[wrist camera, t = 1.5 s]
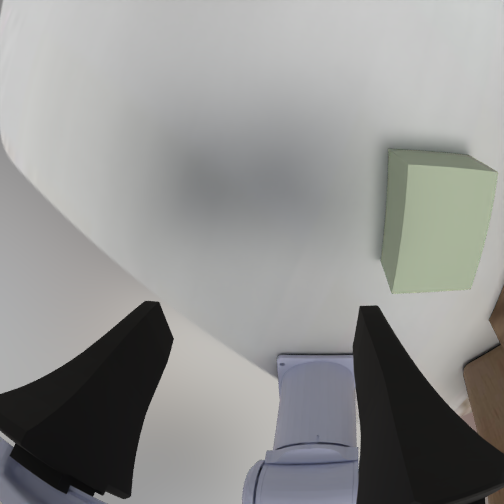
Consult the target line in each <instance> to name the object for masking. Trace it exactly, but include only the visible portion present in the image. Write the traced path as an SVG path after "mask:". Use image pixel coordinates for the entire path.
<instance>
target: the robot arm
mask: <svg viewBox="0 0 504 504" xmlns="http://www.w3.org/2000/svg"><path fill="white" fill-rule="evenodd" d="M173 340H174V338H173V336H172V333H171V331H170V329H169V326H168V323H167V321H166V319H165V316H164V314H163V311H162V308H161V306H160V303H159V302H154V301H145V302H143V303H142V304H141V305H139V306H138V307H137V308H136V309H135V310H133V311H132V312H131V313H130V314H129V315H128V316H126V317H125V318H124V319H123V320H122V321H120V322H119V323H118V324H117V325H116V326H115V327H113V328H112V329H111V330H110V331H109V332H108V333H106V334H105V335H104V336H103V337H101V338H100V339H99V340H98V341H96V342H95V343H94V344H93V345H91V346H90V347H89V348H88V349H86V350H85V351H84V352H83V353H81V354H80V355H78V356H77V357H75V358H74V359H73V360H71V361H69V362H68V363H66V364H65V365H63V366H62V367H60V368H58V369H57V370H55V371H53V372H51V373H49V374H48V375H46V376H44V377H42V378H40V379H38V380H36V381H34V382H32V383H30V384H27V385H25V386H22V387H20V388H18V389H14V390H11V391H8V392H5V393H2V394H0V431H1V432H2V433H4V434H5V435H6V436H7V437H9V438H10V439H11V440H13V441H14V442H15V443H16V444H15V446H14V447H13V446H11V445H10V444H9V443H7V442H6V441H5V440H4V439H2V438H1V437H0V501H1V502H2V504H107V503H105V502H103V501H101V500H98V499H96V498H94V497H93V495H94V493H95V492H96V493H98V494H100V495H104V493H105V491H106V492H108V493H110V494H112V495H115V496H117V497H120V498H122V499H126V498H129V497H130V496H131V489H132V478H133V469H134V462H135V456H136V451H137V447H138V442H139V438H140V433H141V430H142V426H143V422H144V419H145V415H146V412H147V410H148V406H149V404H150V402H151V400H152V397H153V395H154V393H155V390H156V388H157V385H158V383H159V381H160V378H161V376H162V374H163V371H164V369H165V367H166V364H167V362H168V358H169V355H170V351H171V347H172V343H173ZM277 369H278V382H279V394H280V404H279V411H278V419H277V426H276V433H275V439H274V447H273V450H270V451H269V450H268V451H267V452H266V457H265V460H259V461H258V462H256V464H255V465H254V466H252V467H251V469H250V470H249V472H248V474H247V476H246V479H245V483H244V487H243V495H242V504H485V497H487V496H489V495H491V494H493V493H495V492H497V491H498V490H500V489H502V488H504V453H502V452H501V451H499V450H498V449H497V448H495V447H494V446H493V445H491V444H490V443H489V442H487V441H486V440H485V439H483V438H482V437H481V436H480V435H479V434H478V433H476V432H475V431H474V430H473V429H472V428H471V427H469V425H468V424H467V423H466V422H465V421H464V420H462V419H461V418H460V417H459V416H458V415H457V414H456V413H455V412H454V411H453V410H452V409H451V408H450V407H449V405H448V404H447V403H446V402H445V401H444V400H443V399H442V398H441V397H440V395H439V394H438V393H437V392H436V391H435V389H434V388H433V387H432V386H431V385H430V383H429V382H428V381H427V380H426V378H425V377H424V376H423V374H422V373H421V372H420V370H419V369H418V367H417V366H416V365H415V363H414V362H413V360H412V359H411V358H410V356H409V355H408V353H407V352H406V350H405V349H404V347H403V346H402V344H401V343H400V341H399V340H398V338H397V336H396V335H395V333H394V332H393V330H392V328H391V327H390V325H389V323H388V322H387V320H386V318H385V317H384V315H383V313H382V311H381V310H380V308H379V307H378V306H360V308H359V315H358V320H357V326H356V332H355V337H354V342H353V355H280V356H278V357H277ZM355 388H356V393H357V401H358V409H359V418H360V430H361V449H360V450H361V451H360V461H359V471H358V447H357V442H356V441H357V439H356V408H355Z"/></svg>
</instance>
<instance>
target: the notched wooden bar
mask: <svg viewBox="0 0 504 504" xmlns="http://www.w3.org/2000/svg"><path fill="white" fill-rule="evenodd" d="M489 321H490V323H491V325H492V327H493V329H494V331H495V333H496V335H497V337H498V339H499V341H500V343H501V346H502V348H503V350H504V286H503V289H502V291H501V294H500V296H499V299H498V301H497V303H496V306H495V308H494V310H493V313H492V315H491V317H490V319H489Z"/></svg>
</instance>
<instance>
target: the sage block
mask: <svg viewBox="0 0 504 504" xmlns="http://www.w3.org/2000/svg"><path fill="white" fill-rule="evenodd" d="M497 176H498V172H497V171H495V170H493V169H492V168H490V167H488V166H487V165H485V164H483V163H482V162H480V161H478V160H476V159H475V158H473V157H471V156H469V155H464V154H454V153H444V152H433V151H420V150H403V149H388V183H387V201H386V214H385V226H384V236H383V245H382V254H381V263H382V266H383V269H384V272H385V275H386V278H387V281H388V284H389V287H390V290H391V293H392V294H400V293H421V292H439V291H454V290H468V289H471V286H472V283H473V280H474V277H475V274H476V271H477V268H478V265H479V261H480V258H481V254H482V250H483V247H484V243H485V239H486V235H487V231H488V226H489V222H490V217H491V212H492V207H493V202H494V196H495V190H496V183H497Z"/></svg>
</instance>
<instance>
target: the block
mask: <svg viewBox="0 0 504 504" xmlns="http://www.w3.org/2000/svg"><path fill="white" fill-rule="evenodd" d="M463 376H464V380H465V384H466V388H467V392H468V397H469V401H470V405H471V408H472V412H473V416H474V420H475V424H476V428H477V433H478V434H479V435H480V436H481V437H482V438H483V439H485V440H486V441H487V442H489V443H490V444H491V445H493V446H494V447H495V448H497V449H498V450H499V451H501V452H502V453H504V350H503V348H502V346H501V345H500V346H498V347H496V348H495V349H493V350H491V351H490V352H488V353H486V354H485V355H483V356H481V357H479V358H478V359H476V360H474V361H472V362H470V363H469V364H467V365H466V366H465V368H464V373H463ZM488 502H489V504H504V488H502V489H500V490H498V491H497V492H495V493H493V494H491V495H489V496H488Z"/></svg>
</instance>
